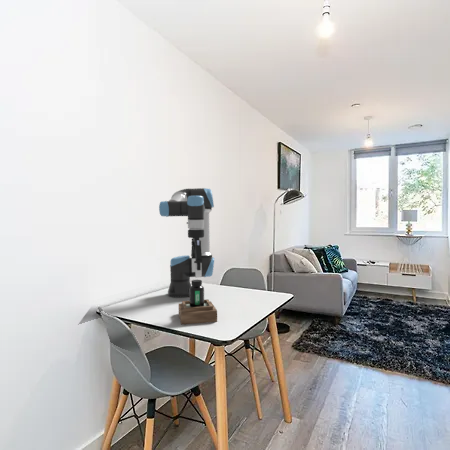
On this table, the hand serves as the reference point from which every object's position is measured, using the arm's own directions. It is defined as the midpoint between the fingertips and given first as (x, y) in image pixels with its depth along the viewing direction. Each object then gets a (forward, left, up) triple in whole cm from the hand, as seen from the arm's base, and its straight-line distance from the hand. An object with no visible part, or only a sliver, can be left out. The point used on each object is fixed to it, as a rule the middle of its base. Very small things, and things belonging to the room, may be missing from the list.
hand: (196, 274), depth 148 cm
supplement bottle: (0, 0, -15) cm, 15 cm away
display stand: (0, 0, -20) cm, 20 cm away
